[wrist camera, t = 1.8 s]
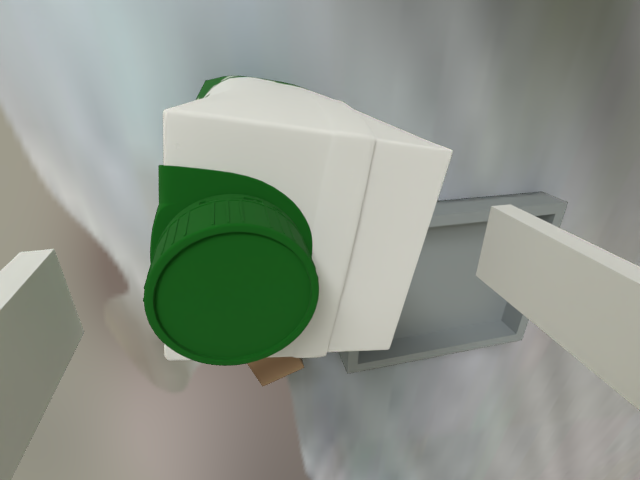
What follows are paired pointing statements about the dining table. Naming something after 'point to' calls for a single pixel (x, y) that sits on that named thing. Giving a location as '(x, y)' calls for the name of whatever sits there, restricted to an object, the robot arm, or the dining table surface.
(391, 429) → the dining table surface
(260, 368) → the walnut block
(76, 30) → the dining table surface
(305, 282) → the soya milk
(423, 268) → the tray
